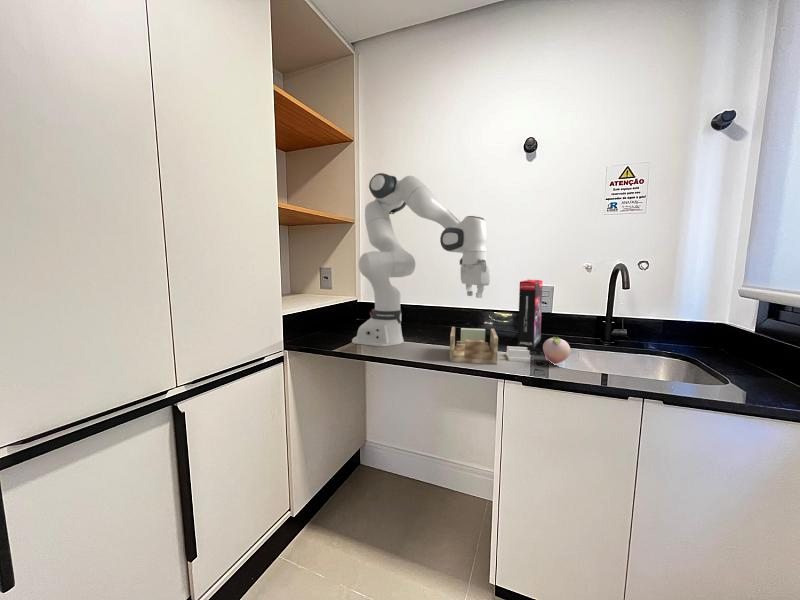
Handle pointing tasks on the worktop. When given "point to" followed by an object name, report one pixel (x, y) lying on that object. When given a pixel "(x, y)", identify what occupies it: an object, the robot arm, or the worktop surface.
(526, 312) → the graphics card box
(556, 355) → the decorative fruit
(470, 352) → the offcut lower
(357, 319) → the worktop surface
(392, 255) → the robot arm
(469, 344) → the offcut upper
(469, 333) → the sheet
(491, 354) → the rack
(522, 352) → the holder
